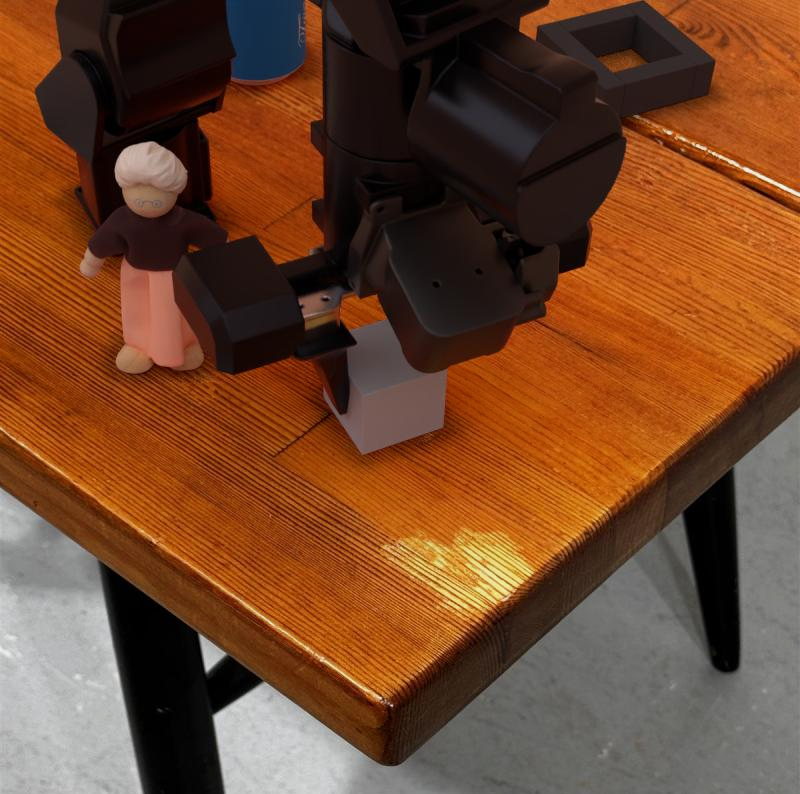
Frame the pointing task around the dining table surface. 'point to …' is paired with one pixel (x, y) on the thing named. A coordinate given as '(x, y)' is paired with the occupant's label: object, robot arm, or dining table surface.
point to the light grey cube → (388, 392)
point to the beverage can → (266, 39)
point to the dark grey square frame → (651, 38)
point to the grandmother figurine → (151, 258)
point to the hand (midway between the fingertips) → (382, 395)
